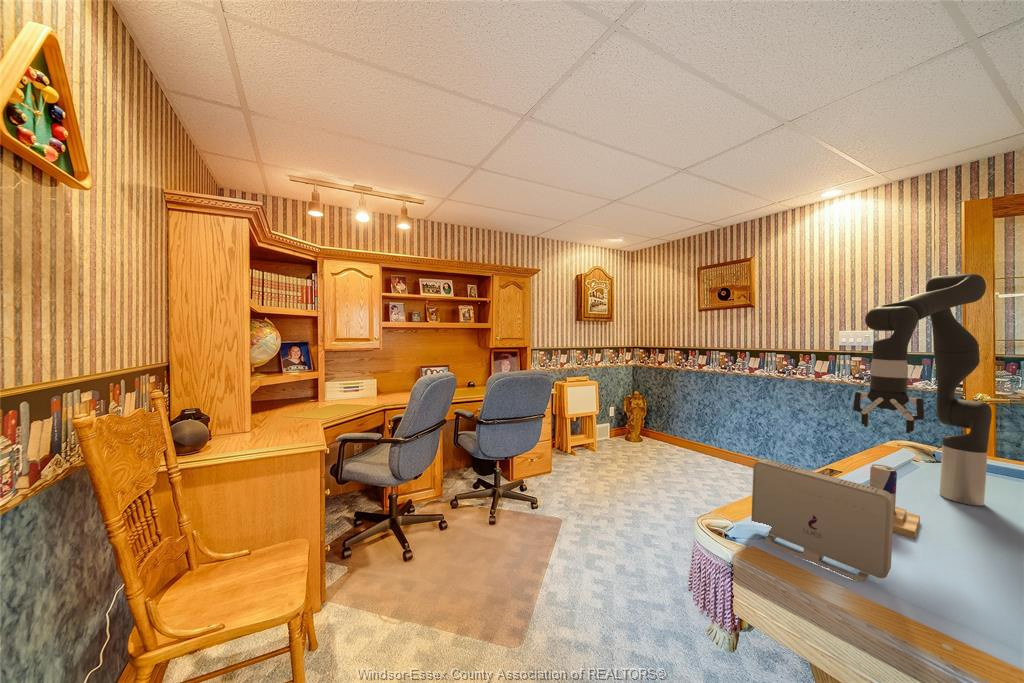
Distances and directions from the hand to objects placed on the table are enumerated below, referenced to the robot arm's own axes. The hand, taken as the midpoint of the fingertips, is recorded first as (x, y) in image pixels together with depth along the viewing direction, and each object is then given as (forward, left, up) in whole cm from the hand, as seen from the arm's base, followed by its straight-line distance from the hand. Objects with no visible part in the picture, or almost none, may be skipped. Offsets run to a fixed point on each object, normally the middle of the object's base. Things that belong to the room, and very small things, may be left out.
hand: (886, 429), depth 105 cm
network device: (+40, -7, -27) cm, 49 cm away
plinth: (+2, 0, -26) cm, 26 cm away
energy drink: (+2, 0, -23) cm, 23 cm away
